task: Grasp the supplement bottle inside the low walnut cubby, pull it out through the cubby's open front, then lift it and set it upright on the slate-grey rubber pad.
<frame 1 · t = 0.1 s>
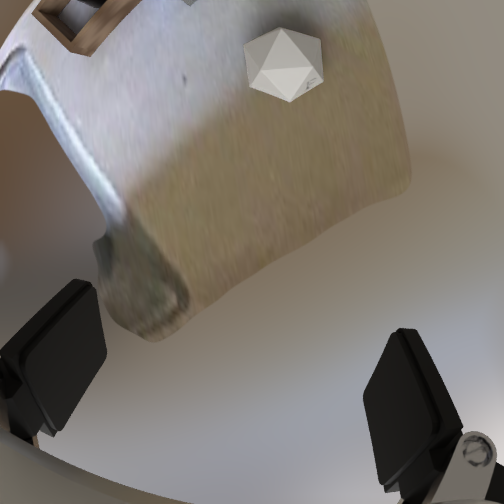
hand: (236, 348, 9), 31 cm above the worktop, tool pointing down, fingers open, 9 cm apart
cubby: (95, 3, 29), on the worktop
die: (283, 68, 32), on the worktop
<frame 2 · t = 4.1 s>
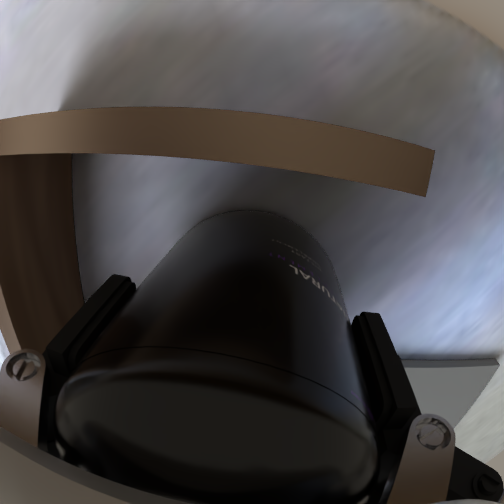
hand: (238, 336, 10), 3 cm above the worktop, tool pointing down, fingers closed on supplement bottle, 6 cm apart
cubby: (182, 277, 13), on the worktop
supplement bottle: (249, 285, 13), on the worktop, touching gripper
pad: (397, 419, 15), on the worktop
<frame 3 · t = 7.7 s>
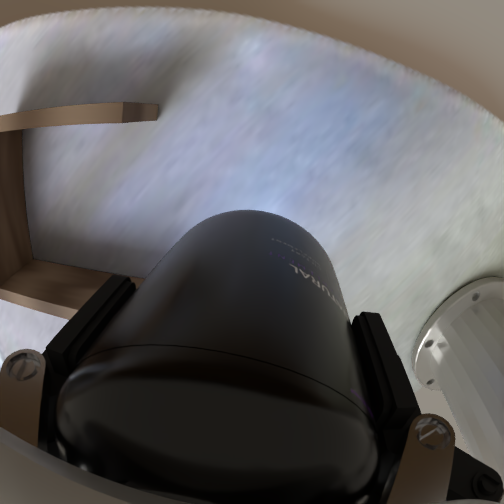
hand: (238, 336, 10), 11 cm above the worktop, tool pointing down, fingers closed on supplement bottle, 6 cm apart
cubby: (74, 199, 19), on the worktop
supplement bottle: (249, 284, 13), point 7 cm above the worktop, touching gripper
when the fingers open (5 cm above the worktop, at t = 11.6 s): supplement bottle drops 1 cm, resting on pad.
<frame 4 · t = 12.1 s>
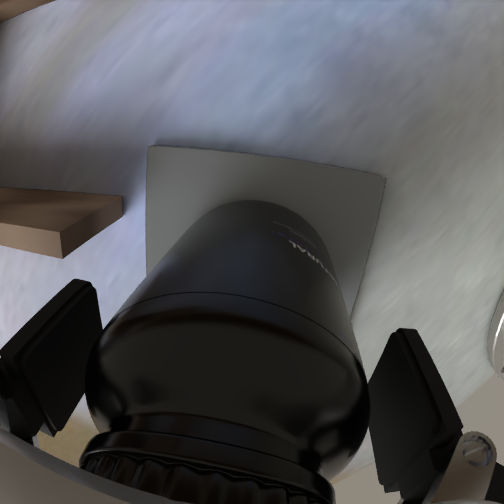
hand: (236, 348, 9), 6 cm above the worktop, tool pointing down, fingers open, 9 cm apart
cubby: (33, 92, 12), on the worktop
supplement bottle: (252, 268, 14), resting on pad
pad: (252, 264, 14), on the worktop
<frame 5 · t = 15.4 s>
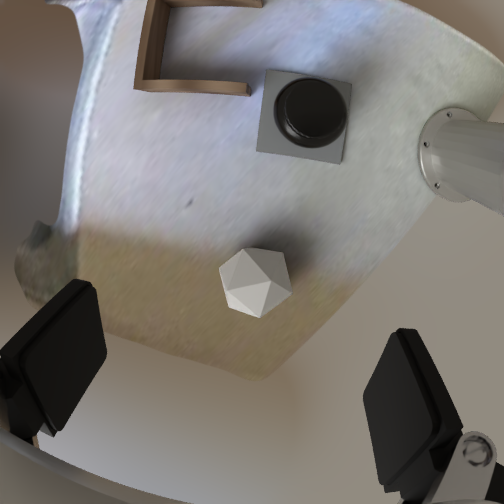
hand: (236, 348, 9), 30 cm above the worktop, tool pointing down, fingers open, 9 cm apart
cubby: (204, 43, 31), on the worktop
supplement bottle: (304, 115, 33), resting on pad
pad: (304, 116, 34), on the worktop
die: (257, 266, 42), on the worktop
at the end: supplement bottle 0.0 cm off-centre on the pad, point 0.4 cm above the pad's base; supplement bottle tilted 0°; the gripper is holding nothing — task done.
